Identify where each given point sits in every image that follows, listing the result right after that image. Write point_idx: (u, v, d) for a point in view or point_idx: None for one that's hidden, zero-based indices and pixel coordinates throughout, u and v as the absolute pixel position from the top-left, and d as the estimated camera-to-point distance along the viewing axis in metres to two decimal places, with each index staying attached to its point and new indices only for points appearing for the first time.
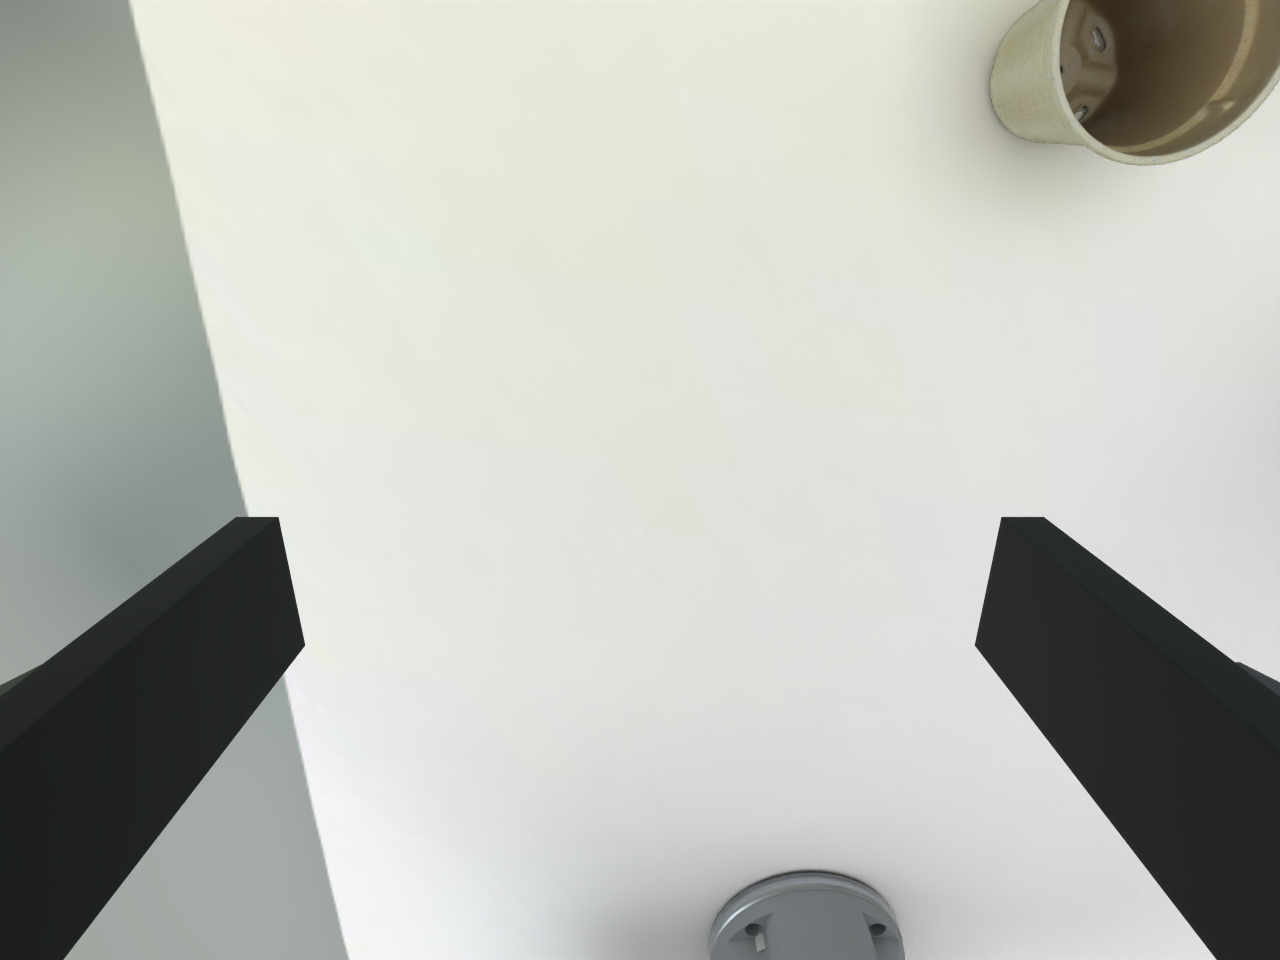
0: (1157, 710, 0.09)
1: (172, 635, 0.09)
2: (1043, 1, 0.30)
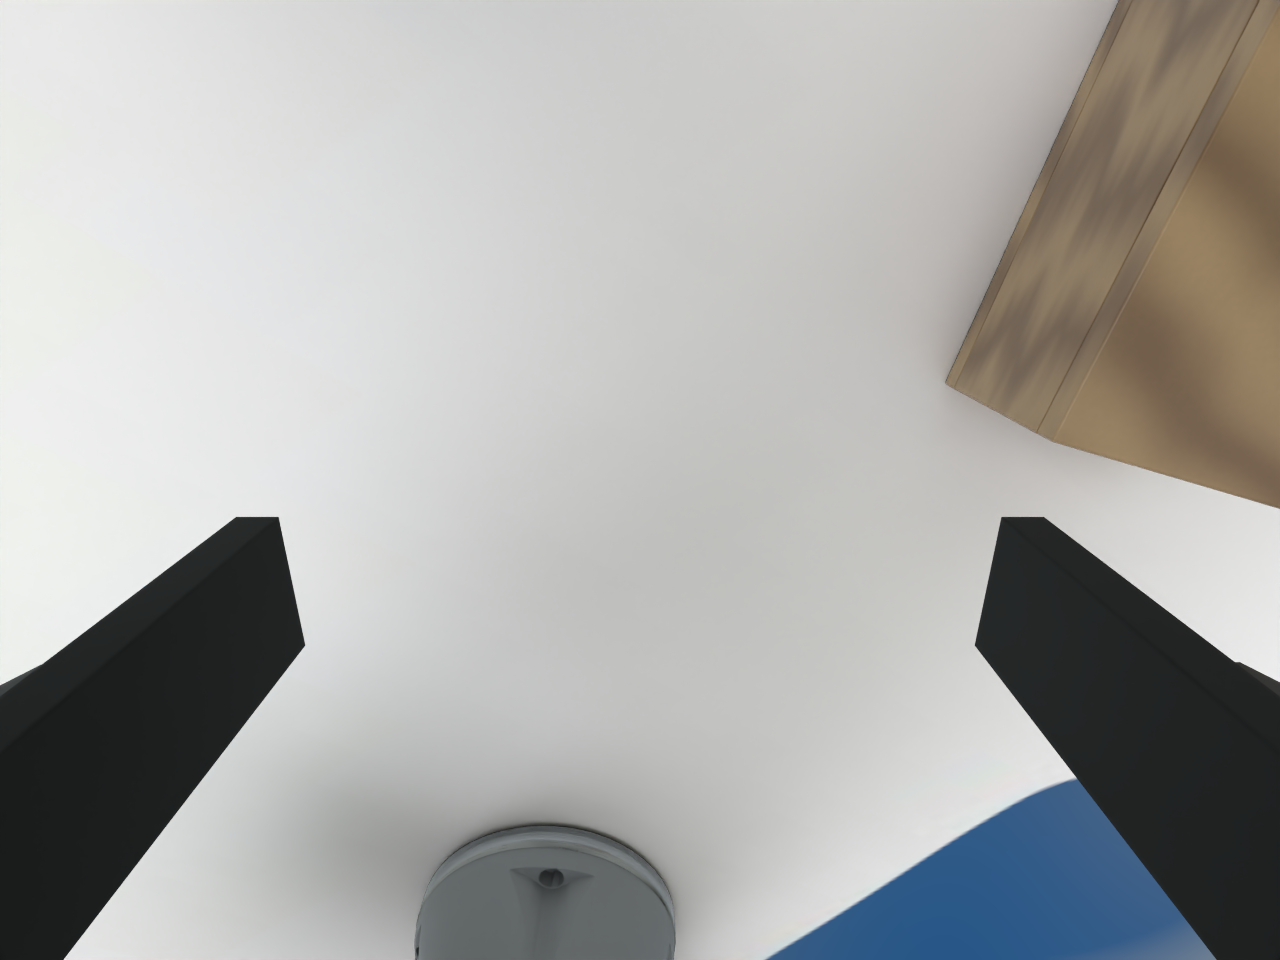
0: (1157, 710, 0.09)
1: (172, 635, 0.09)
2: None
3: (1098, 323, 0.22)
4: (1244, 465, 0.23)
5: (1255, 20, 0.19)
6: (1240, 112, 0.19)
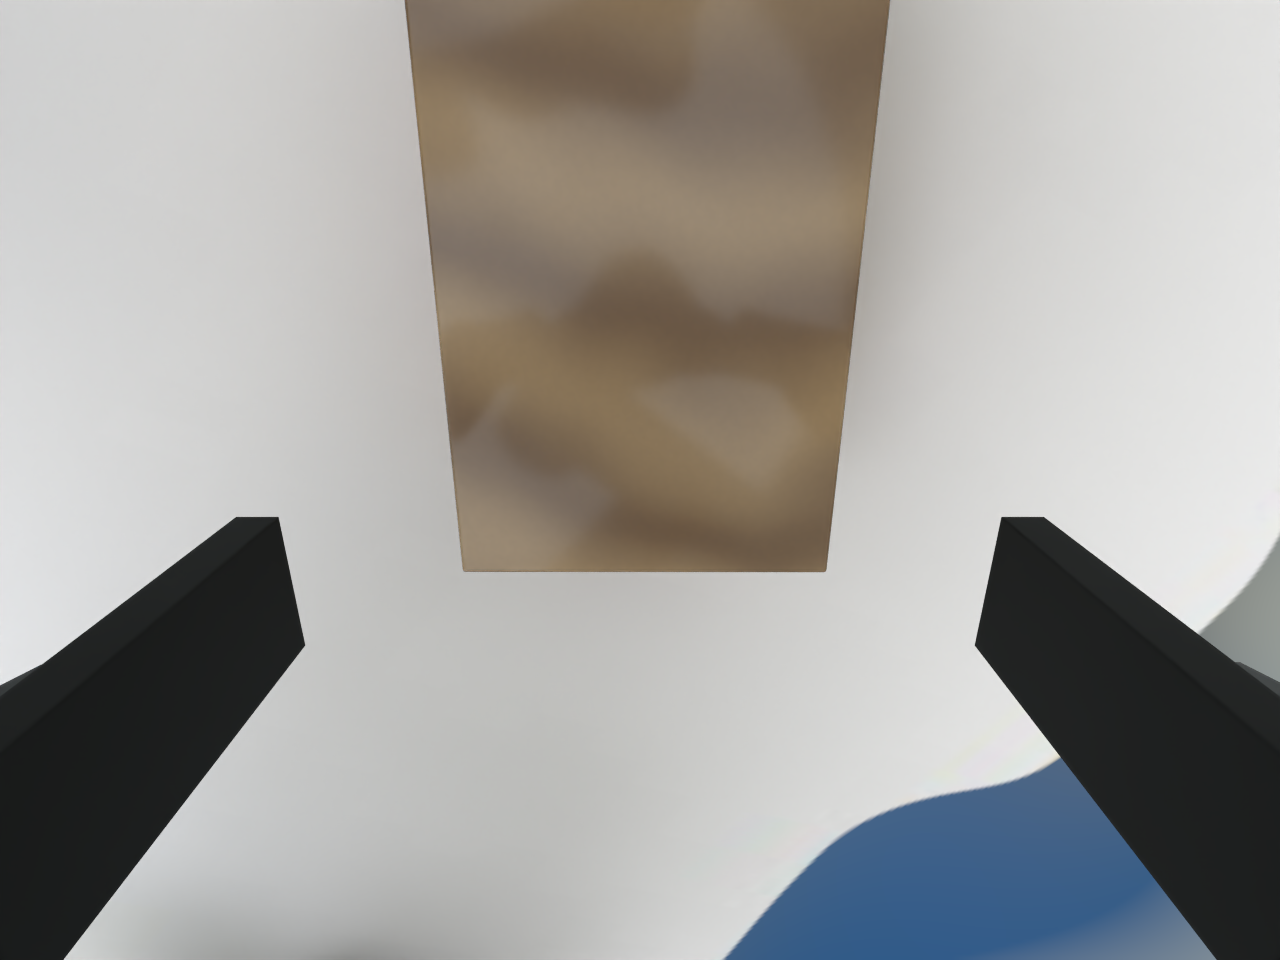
0: (1157, 710, 0.09)
1: (172, 635, 0.09)
2: None
3: None
4: (691, 540, 0.20)
5: None
6: (441, 192, 0.16)
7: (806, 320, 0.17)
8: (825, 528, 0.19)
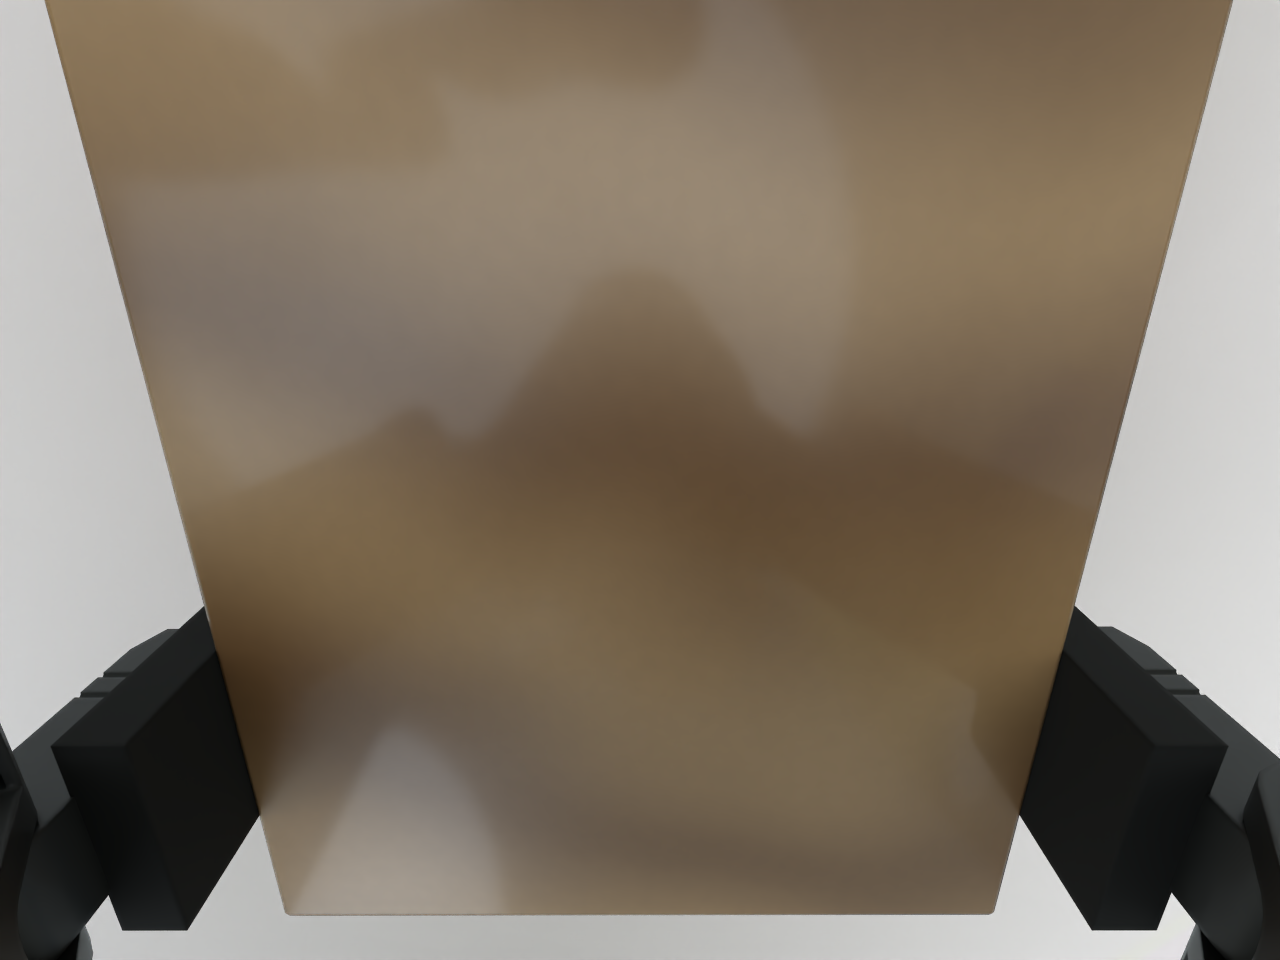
0: None
1: None
2: None
3: None
4: (732, 866, 0.10)
5: None
6: (129, 167, 0.07)
7: (1005, 460, 0.08)
8: (1001, 845, 0.10)
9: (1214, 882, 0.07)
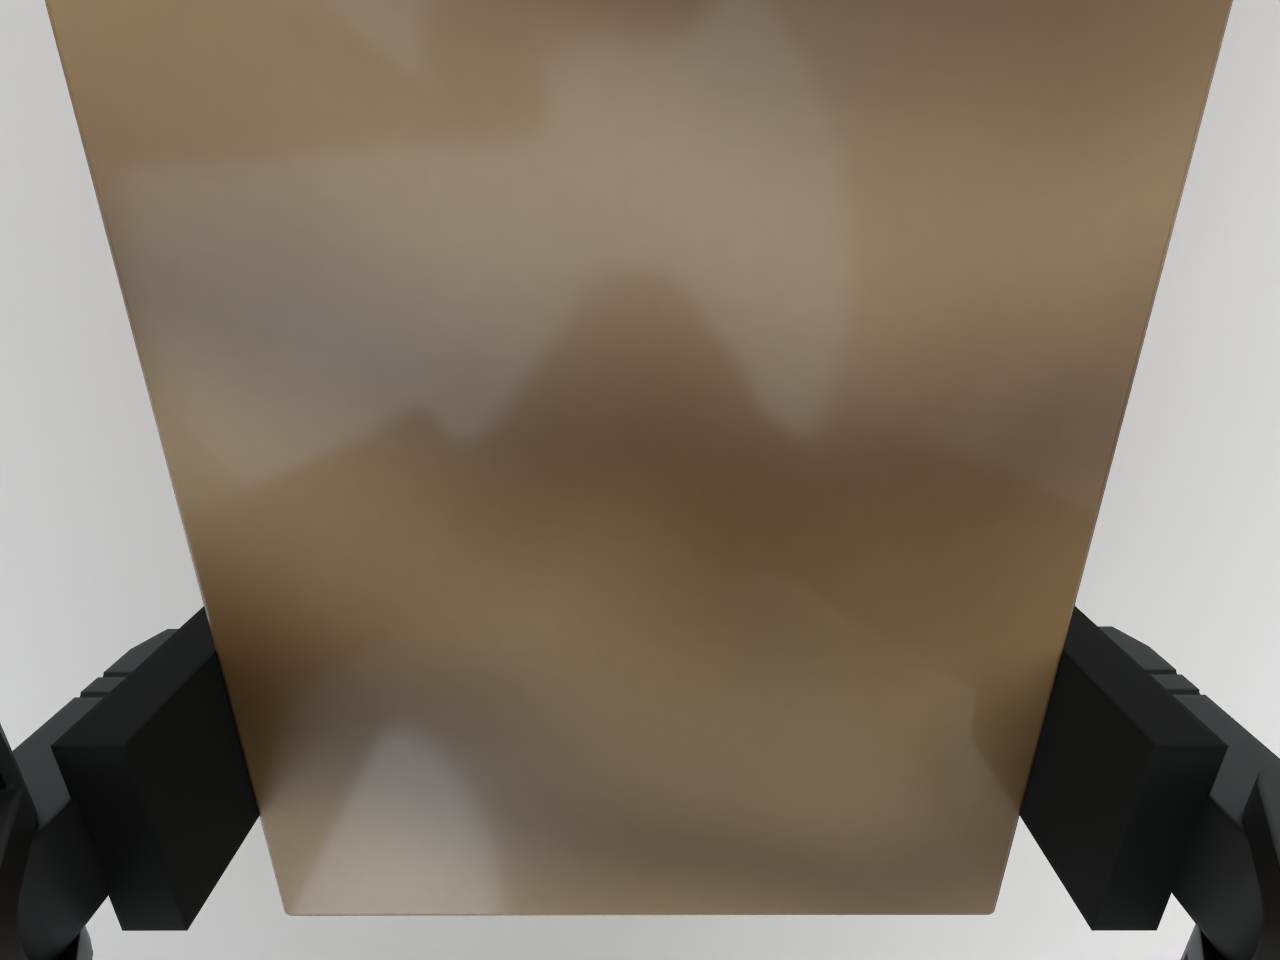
0: None
1: None
2: None
3: None
4: (732, 866, 0.10)
5: None
6: (130, 166, 0.07)
7: (1005, 459, 0.08)
8: (1002, 846, 0.10)
9: (1214, 882, 0.07)
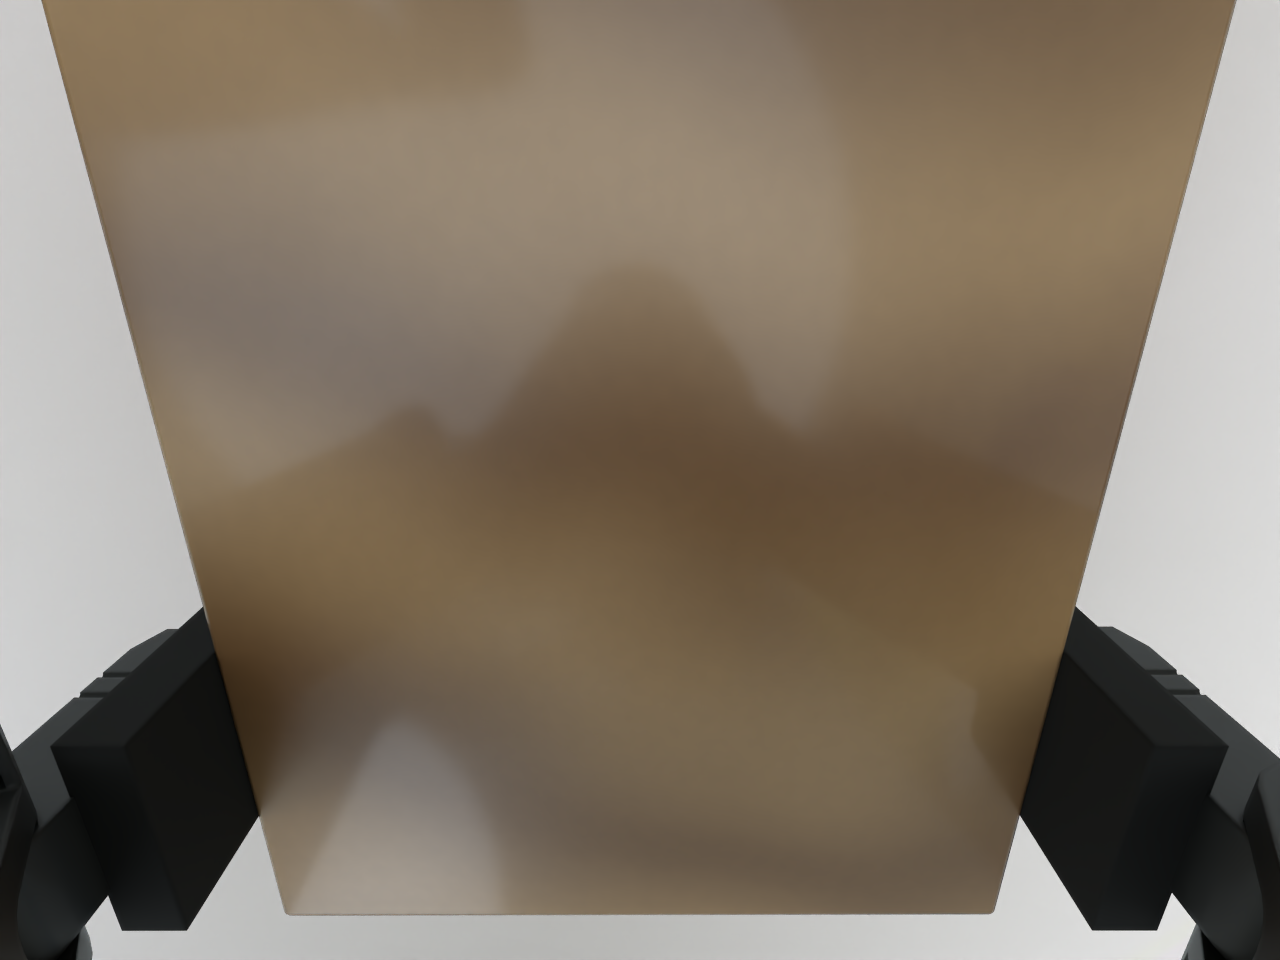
0: None
1: None
2: None
3: None
4: (732, 866, 0.10)
5: None
6: (127, 165, 0.07)
7: (1006, 460, 0.08)
8: (1002, 846, 0.10)
9: (1214, 882, 0.07)
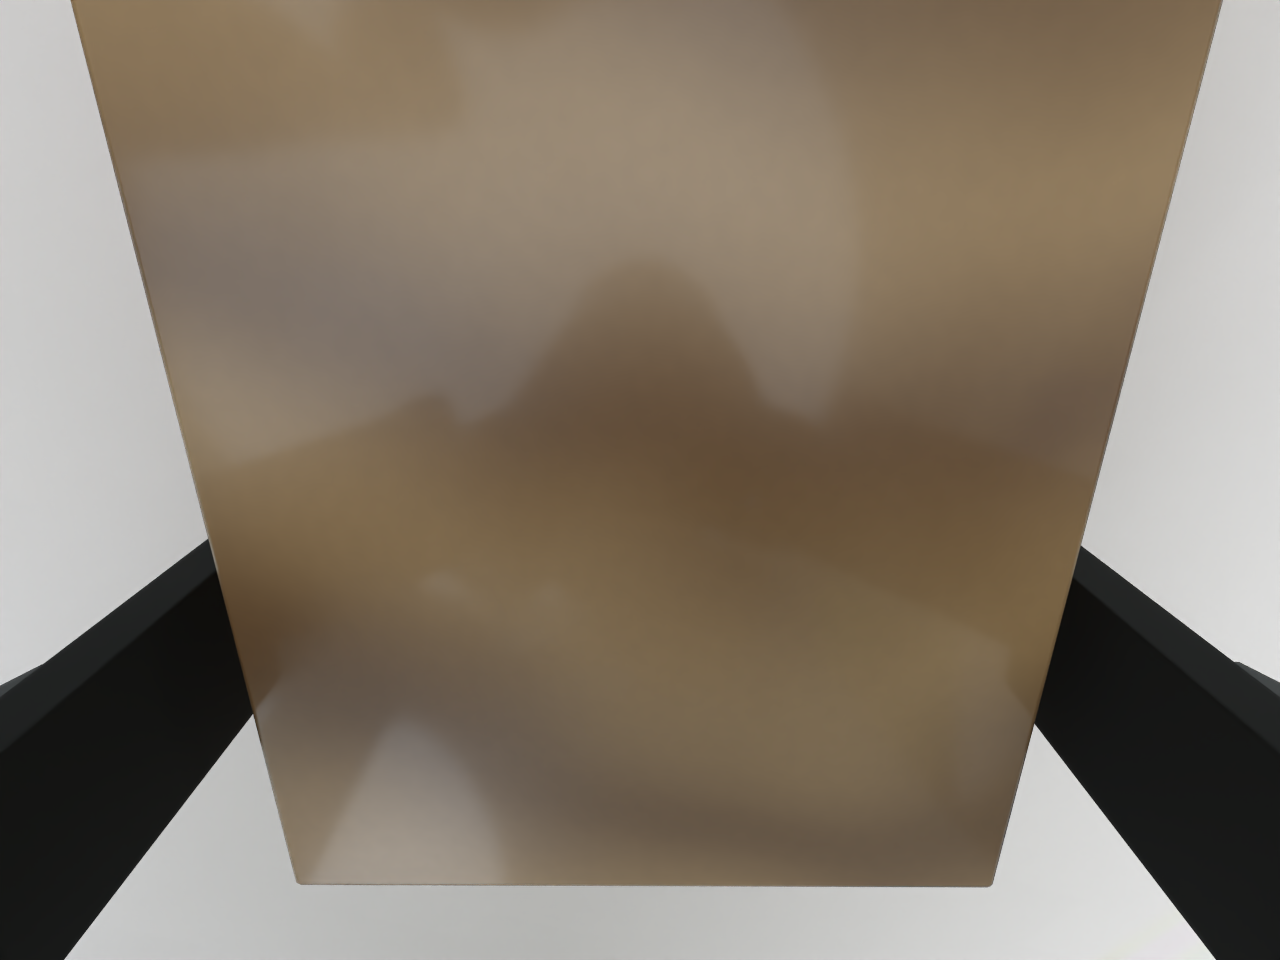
0: (1156, 710, 0.09)
1: (173, 635, 0.10)
2: None
3: None
4: (734, 838, 0.10)
5: None
6: (146, 141, 0.07)
7: (1003, 433, 0.08)
8: (1000, 818, 0.10)
9: None
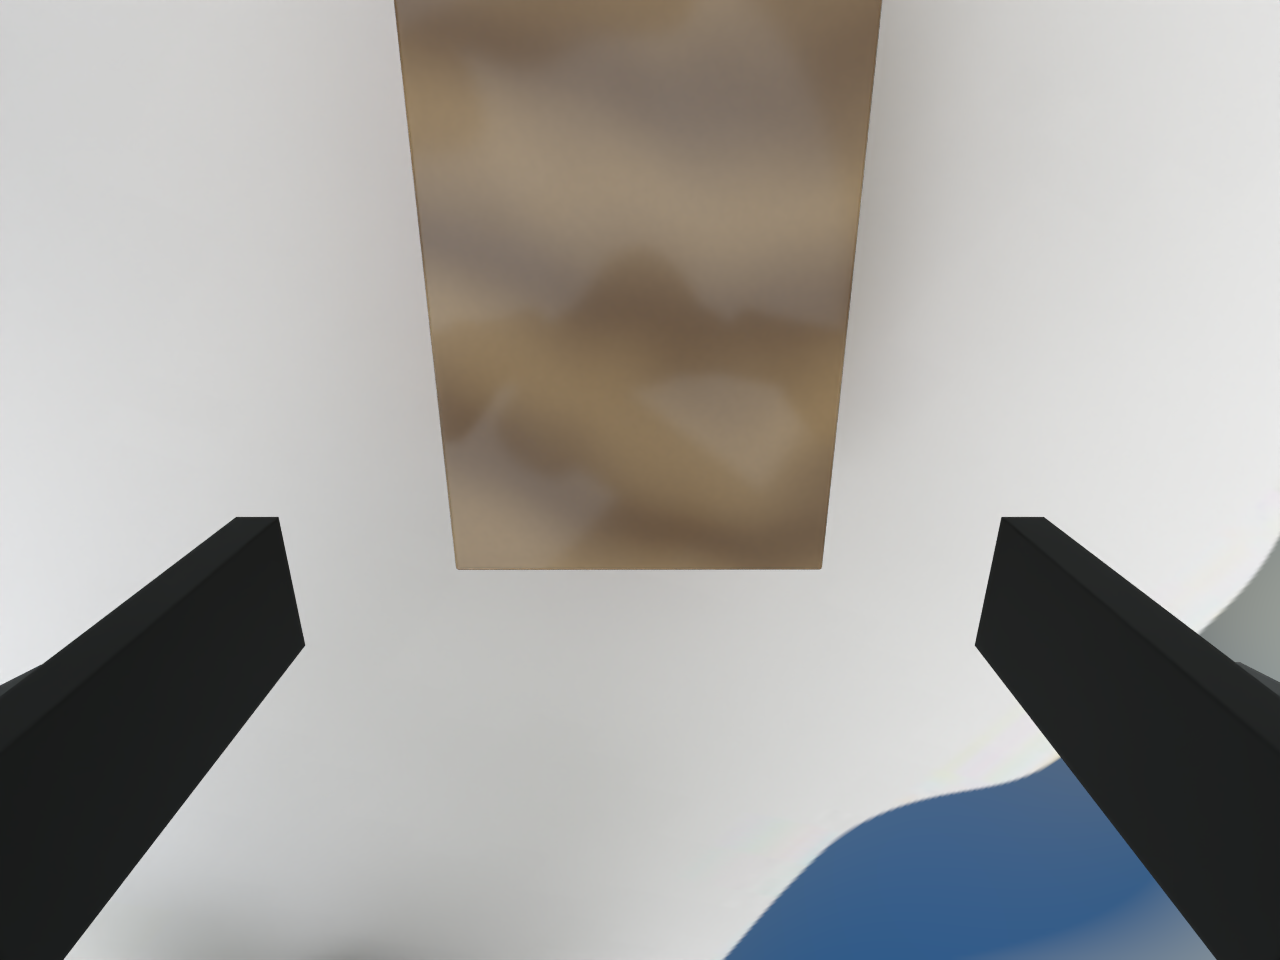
0: (1157, 710, 0.09)
1: (172, 635, 0.09)
2: None
3: None
4: (685, 537, 0.19)
5: None
6: (431, 187, 0.16)
7: (800, 315, 0.17)
8: (820, 525, 0.19)
9: None
